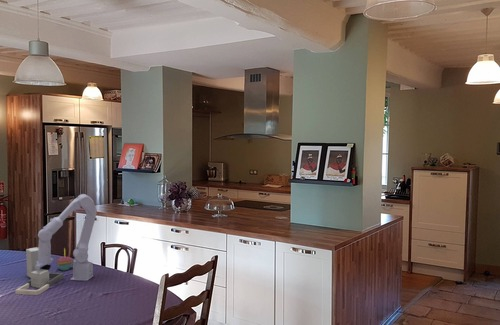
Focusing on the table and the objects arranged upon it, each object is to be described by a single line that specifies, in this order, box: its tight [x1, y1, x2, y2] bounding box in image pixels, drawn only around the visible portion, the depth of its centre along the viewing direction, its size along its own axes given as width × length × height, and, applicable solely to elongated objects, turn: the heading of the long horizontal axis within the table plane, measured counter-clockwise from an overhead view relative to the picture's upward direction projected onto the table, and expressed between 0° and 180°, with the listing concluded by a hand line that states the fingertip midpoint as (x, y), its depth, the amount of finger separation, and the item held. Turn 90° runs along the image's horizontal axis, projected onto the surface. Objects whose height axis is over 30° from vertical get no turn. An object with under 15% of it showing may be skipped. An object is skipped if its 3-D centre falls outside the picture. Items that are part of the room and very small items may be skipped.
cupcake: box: [56, 248, 74, 271], centre depth 250 cm, size 9×8×12 cm
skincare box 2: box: [30, 269, 50, 289], centre depth 221 cm, size 6×6×7 cm
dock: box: [26, 272, 64, 288], centre depth 228 cm, size 11×15×2 cm
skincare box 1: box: [25, 246, 39, 279], centre depth 236 cm, size 8×6×15 cm
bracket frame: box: [14, 282, 50, 296], centre depth 214 cm, size 11×10×2 cm
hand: (44, 279), depth 226 cm, fingers closed, pressing on skincare box 2
